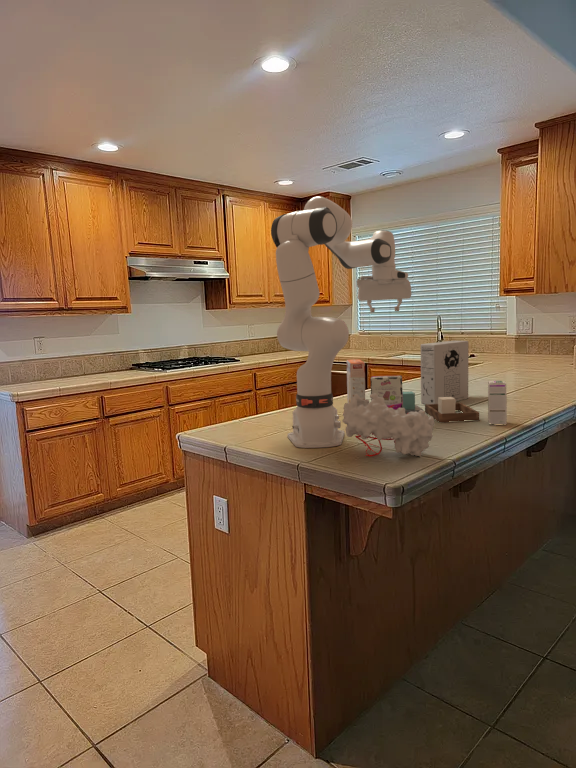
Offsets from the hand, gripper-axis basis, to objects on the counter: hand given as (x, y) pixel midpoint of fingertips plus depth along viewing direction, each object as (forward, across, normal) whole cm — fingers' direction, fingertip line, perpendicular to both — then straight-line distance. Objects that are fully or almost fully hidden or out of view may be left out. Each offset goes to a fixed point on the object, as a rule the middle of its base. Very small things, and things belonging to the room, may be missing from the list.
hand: (384, 311), depth 201 cm
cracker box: (+39, -12, -1) cm, 41 cm away
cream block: (+39, +21, -9) cm, 45 cm away
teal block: (+37, +7, -5) cm, 38 cm away
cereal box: (+39, +28, +16) cm, 51 cm away
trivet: (+39, +7, -5) cm, 40 cm away
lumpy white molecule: (+39, -12, -60) cm, 73 cm away
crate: (+39, +21, -14) cm, 46 cm away
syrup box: (+39, +32, -29) cm, 58 cm away
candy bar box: (+39, -3, -17) cm, 43 cm away
